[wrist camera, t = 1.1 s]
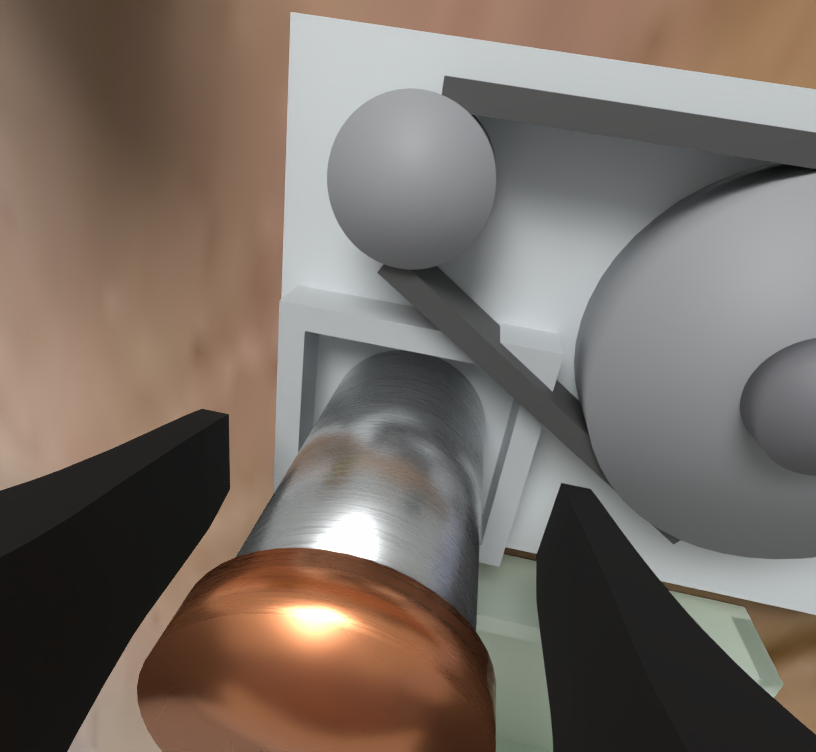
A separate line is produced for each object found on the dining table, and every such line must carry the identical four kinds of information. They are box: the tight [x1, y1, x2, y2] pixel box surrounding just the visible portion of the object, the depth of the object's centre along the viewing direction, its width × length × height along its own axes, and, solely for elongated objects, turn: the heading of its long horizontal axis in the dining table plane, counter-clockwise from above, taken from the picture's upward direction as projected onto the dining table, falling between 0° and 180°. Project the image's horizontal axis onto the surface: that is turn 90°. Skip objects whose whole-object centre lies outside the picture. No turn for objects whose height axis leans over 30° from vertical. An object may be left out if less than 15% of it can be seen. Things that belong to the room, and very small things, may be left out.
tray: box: [476, 554, 784, 752], centre depth 18 cm, size 11×9×2 cm
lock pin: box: [137, 350, 496, 752], centre depth 10 cm, size 5×5×8 cm
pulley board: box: [274, 12, 816, 615], centre depth 12 cm, size 16×12×4 cm
